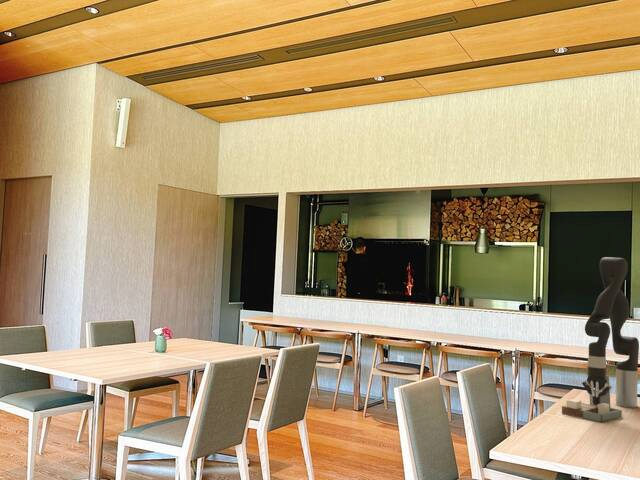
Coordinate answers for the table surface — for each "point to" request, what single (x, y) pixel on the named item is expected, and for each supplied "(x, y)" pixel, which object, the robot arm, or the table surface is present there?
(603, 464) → the table surface
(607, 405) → the tile
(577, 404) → the cream square block
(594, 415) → the tray
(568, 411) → the walnut board
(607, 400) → the skincare box
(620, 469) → the table surface
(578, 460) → the table surface
